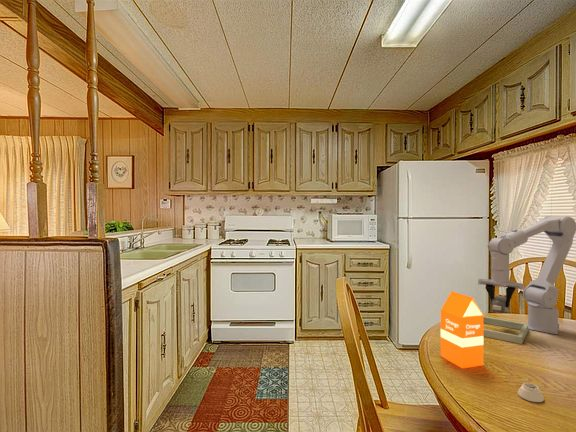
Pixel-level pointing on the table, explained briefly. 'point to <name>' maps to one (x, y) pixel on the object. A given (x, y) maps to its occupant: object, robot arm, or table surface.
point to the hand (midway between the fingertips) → (500, 305)
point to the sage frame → (505, 336)
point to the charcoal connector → (499, 304)
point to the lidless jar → (530, 392)
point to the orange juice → (462, 331)
